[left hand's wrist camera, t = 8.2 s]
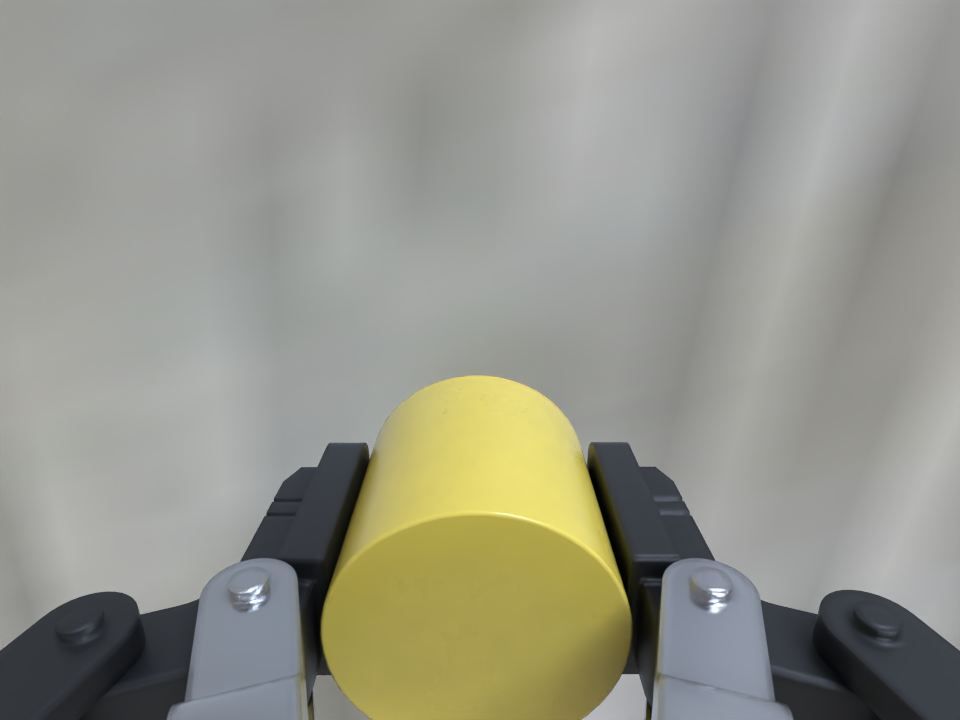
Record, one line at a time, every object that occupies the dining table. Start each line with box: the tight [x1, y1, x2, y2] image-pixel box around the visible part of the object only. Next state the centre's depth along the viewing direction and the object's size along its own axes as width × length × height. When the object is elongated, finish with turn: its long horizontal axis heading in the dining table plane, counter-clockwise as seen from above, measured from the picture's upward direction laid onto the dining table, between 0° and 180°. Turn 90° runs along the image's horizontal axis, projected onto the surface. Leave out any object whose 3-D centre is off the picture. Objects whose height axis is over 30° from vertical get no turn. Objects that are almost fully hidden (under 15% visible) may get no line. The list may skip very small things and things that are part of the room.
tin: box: [320, 376, 633, 720], centre depth 11 cm, size 4×4×5 cm
